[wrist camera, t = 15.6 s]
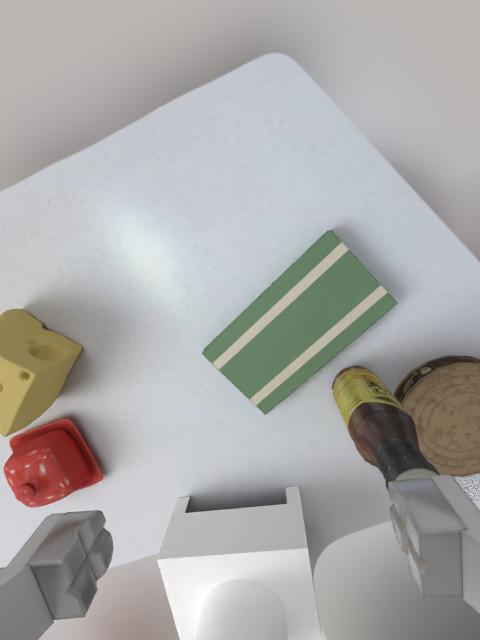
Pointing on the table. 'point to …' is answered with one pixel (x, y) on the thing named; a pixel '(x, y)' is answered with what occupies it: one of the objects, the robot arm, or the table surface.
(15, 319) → the cheese
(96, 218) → the table surface
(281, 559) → the paper towel holder
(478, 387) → the wooden log slice
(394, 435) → the sauce bottle
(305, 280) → the towel
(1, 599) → the robot arm
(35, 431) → the butter dish
